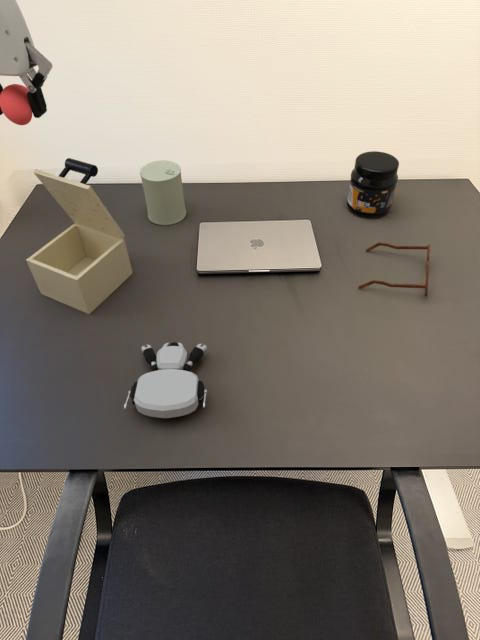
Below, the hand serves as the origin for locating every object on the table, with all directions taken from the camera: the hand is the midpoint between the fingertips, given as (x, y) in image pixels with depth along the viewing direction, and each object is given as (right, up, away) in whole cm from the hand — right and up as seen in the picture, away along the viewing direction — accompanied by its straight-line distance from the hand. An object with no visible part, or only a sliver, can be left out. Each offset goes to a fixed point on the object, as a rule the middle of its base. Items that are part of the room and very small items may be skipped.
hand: (21, 112), depth 78 cm
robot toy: (+25, -46, 0) cm, 52 cm away
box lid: (+7, -14, +9) cm, 18 cm away
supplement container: (+67, -8, +35) cm, 76 cm away
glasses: (+68, -25, +18) cm, 75 cm away
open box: (+5, -27, +18) cm, 33 cm away
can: (+19, -9, +35) cm, 41 cm away
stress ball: (0, -1, +1) cm, 1 cm away
